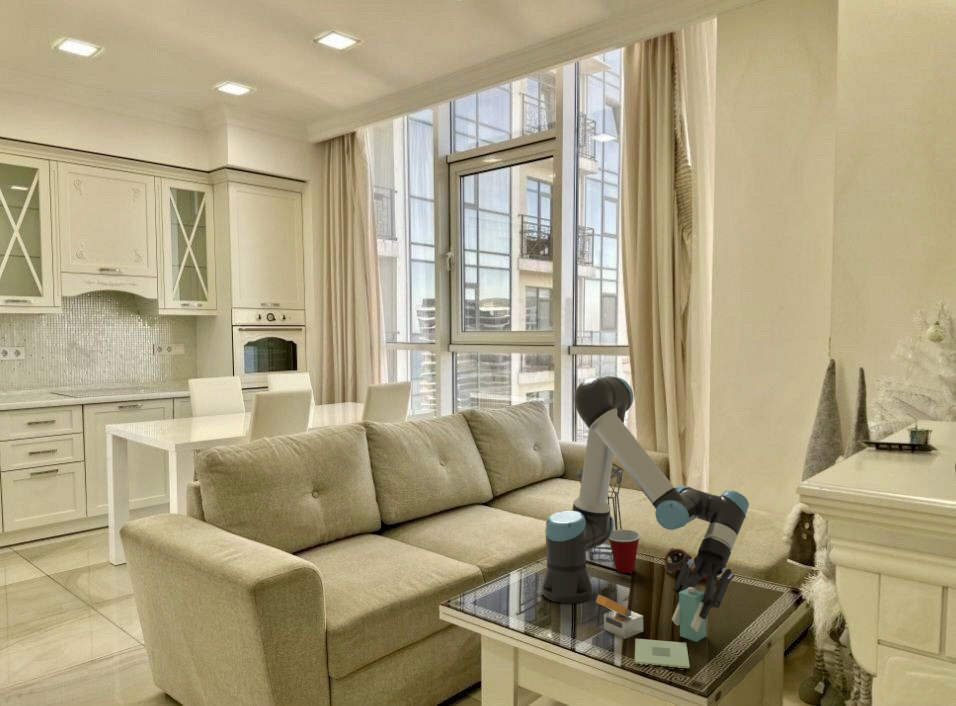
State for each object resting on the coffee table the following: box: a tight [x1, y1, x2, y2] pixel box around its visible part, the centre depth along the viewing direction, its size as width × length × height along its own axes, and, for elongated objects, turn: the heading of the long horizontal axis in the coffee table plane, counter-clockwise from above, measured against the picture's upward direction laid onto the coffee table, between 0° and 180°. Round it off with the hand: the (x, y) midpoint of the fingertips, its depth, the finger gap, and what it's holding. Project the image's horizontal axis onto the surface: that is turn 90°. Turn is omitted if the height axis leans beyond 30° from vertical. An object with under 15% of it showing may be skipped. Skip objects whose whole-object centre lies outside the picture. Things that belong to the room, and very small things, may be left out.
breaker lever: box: [595, 594, 632, 617], centre depth 165 cm, size 2×4×10 cm
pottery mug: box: [663, 547, 693, 573], centre depth 210 cm, size 12×10×8 cm
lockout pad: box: [634, 638, 691, 669], centre depth 153 cm, size 12×12×1 cm
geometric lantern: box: [574, 462, 625, 561], centre depth 227 cm, size 16×16×35 cm
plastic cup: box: [608, 528, 641, 574], centre depth 212 cm, size 11×11×12 cm
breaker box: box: [603, 610, 644, 640], centre depth 167 cm, size 7×7×4 cm
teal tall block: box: [679, 587, 707, 643], centre depth 163 cm, size 4×4×12 cm
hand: (684, 625), depth 160 cm, fingers closed on teal tall block, 4 cm apart
